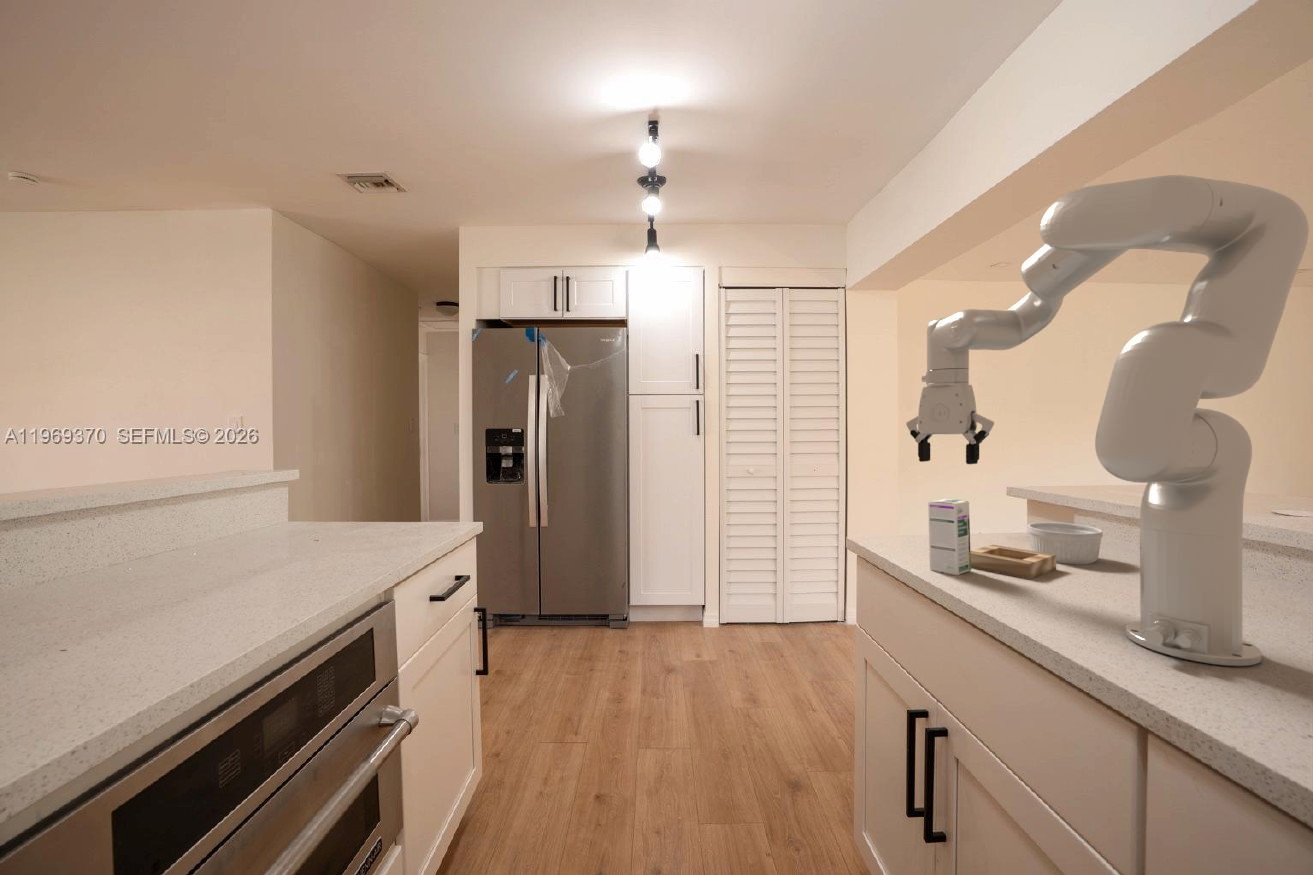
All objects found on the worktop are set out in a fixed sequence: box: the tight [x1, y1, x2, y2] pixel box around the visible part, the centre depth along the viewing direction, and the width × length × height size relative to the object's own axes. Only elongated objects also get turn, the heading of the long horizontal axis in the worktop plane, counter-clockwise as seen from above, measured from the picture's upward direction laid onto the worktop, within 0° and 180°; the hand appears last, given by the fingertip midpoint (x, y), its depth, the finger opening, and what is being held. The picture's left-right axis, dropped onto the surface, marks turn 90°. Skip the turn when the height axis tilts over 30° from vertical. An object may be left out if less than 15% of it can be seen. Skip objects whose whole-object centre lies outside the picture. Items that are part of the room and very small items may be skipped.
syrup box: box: [927, 498, 972, 576], centre depth 108 cm, size 6×6×14 cm
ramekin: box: [1027, 521, 1104, 565], centre depth 117 cm, size 13×13×7 cm
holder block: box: [970, 544, 1057, 580], centre depth 110 cm, size 12×12×3 cm
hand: (947, 462), depth 108 cm, fingers open, 9 cm apart
